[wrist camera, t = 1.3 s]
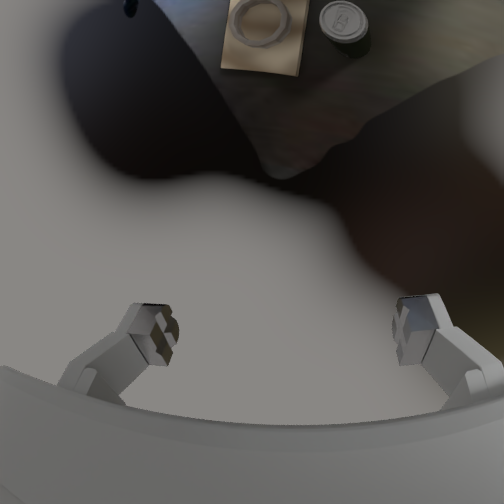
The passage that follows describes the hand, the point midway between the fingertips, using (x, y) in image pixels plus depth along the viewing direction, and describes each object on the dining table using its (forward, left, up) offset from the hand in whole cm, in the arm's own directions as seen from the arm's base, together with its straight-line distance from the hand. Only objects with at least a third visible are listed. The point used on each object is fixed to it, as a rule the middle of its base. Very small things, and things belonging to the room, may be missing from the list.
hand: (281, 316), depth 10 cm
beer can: (-16, -4, -37) cm, 41 cm away
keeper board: (-17, -17, -37) cm, 44 cm away
